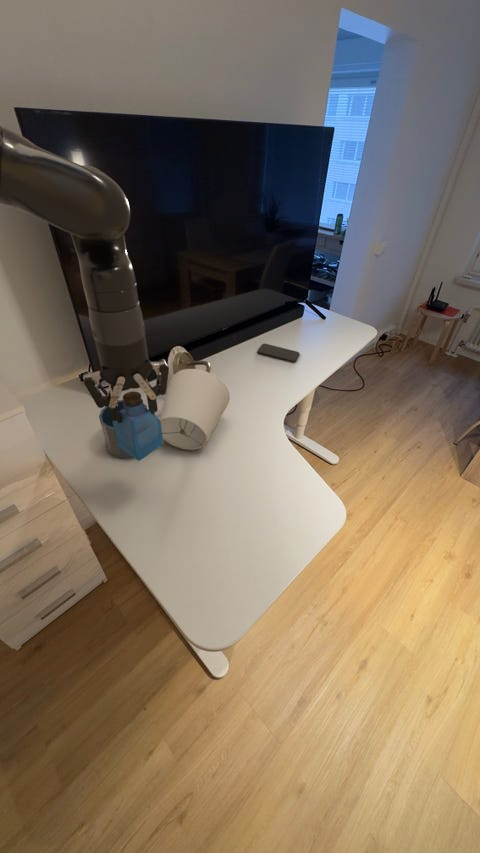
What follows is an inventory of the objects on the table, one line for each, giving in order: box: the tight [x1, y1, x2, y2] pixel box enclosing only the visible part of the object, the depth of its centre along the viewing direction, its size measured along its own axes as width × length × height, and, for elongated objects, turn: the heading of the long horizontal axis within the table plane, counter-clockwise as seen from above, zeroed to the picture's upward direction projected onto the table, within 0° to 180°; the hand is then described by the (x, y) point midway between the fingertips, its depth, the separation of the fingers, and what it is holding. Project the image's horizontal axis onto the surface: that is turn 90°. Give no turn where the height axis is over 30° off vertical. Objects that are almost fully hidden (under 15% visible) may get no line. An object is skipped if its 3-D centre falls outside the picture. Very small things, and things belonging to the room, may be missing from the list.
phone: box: [257, 343, 300, 363], centre depth 130 cm, size 7×1×15 cm
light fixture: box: [158, 345, 231, 451], centre depth 96 cm, size 17×19×34 cm
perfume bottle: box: [112, 390, 164, 462], centre depth 64 cm, size 6×6×12 cm
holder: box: [98, 399, 149, 460], centre depth 87 cm, size 12×12×10 cm
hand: (135, 416), depth 63 cm, fingers closed on perfume bottle, 5 cm apart
